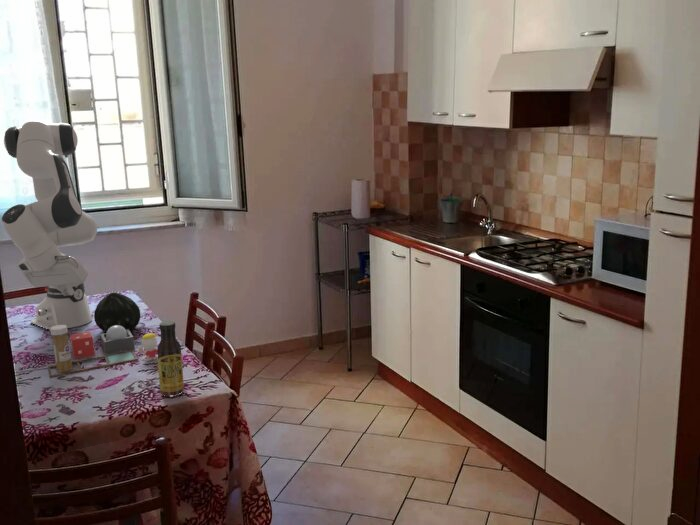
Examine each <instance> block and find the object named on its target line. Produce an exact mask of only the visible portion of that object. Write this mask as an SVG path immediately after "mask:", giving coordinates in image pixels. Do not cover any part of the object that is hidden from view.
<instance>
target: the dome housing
mask: <svg viewBox="0 0 700 525" xmlns="http://www.w3.org/2000/svg"><path fill="white" fill-rule="evenodd" d="M126 331H127V337H125V338H120V339H114V340H109V341H107V339H106V333H107V332H106V333H100V341H101V347H102V349H103V351H104V353H105V355H109V354H114V353H119V352H124V351H130V350H134V349H135V339H134V335H133V334H132V332H131V331H129V329H126Z"/></svg>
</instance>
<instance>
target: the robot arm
mask: <svg viewBox="0 0 700 525" xmlns="http://www.w3.org/2000/svg"><path fill="white" fill-rule="evenodd" d="M78 140H79V139H78V136H77V133H76V131H75V129H74V127H73V126H72V125H71V124H69V123H65V122H59V123H54V122H43V121H41V120H34V119H33V120H29V121H27V122H25V123H24V124H23V125H14V126H9V127H8V128H7V129H6V130H5V132H4V136H3V145H4V148H5V150H6V151H7V154H8V155H9V156H11V157H12V158H15V159H16V162H17V166H18V168H19V169H20V170H21V172H22V173H23V174H25V175H27V176H28V177H31V178H32V184H33V190H34V197H35V199H36V201H34V202H31V203H28V204H26V205H25V204H22V203H21V204H15V205H13V206H11V207H10V208H8V209H7V210H6V211H5V212H4V213H3V214H2V216H1V222H2V225H3V227H4V230H5V232H6V233H7V235H8V237H9V238H10V240H11V241H12V243H13V244H14V246H16V247H17V248H18V249H19V250H20V251H21V254H22V256H23V258H22V259H21V260H19V262H18V264H16V267H17V269H18V270H19V271H20V272H21V271H22V275H23V277H24V278H25V279H26V280H27V282H28V283H29V284H30V285H31V286H33V287H34V288H40V287H41V288H42V287H44V289H45V290H44V291H45V292H46V297H45V298H44V299H43V300H42V301H41V302H39V304H38V305H37V306H36V310H35V311H36V317H34V318H32V319H31V320H30V321H29V322H31V323H34V324H36V325H39V326H42V327H44V328H47V329H49V330H48V331H50V328H51V327H53V326H56V325H66V326H67V329H71V328H77V327H81V326H84V325H86V324H88V323H90V322H92V320H93V316H94V313H93V312H92V311H91V308H90V304H89V300H88V296H87V295H86V294H85V292H86V289H85V285H84V283H85V281H86V280H88V277H89V273H88V272H87V270H86V269H85V268H84V266H83V265H82V264H81V263H80V261H78V259H76V258H75V257H73V256H70V255H68V254H65V253H62V252H61V251H60V249H59V248H61V247H69V246H70V247H71V246H78V245H84V244H87V243H90V242H93V241H94V240H95V238H96V236H97V234H98V224H97V222H96V220H95V219H94V217H93V216H91V215H90V214H89V213H87V212H85V211H84V210H82V207H81V204H80V201H79V199H78V197H77V194H76V190H75V188H74V183H73V180H72V179H73V178H72V176H71V173H70V169H69V167H68V164H67V162H66V160H65V159H67V158H68V157H69V156H70V155H72V154H74V153H75V151H76V150H77V146H78ZM64 157H65V158H64ZM92 315H93V316H92ZM36 325H35V326H36ZM44 328H43V329H44ZM47 329H46V330H47Z"/></svg>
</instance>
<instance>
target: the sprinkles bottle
mask: <svg viewBox="0 0 700 525" xmlns="http://www.w3.org/2000/svg"><path fill="white" fill-rule="evenodd" d="M49 331H50V334H51V338H52V347H53V354H54V360H55V365H56V366H57V367H56V372H58V373H64V372H69V371H72V370H73V364H72V362H73V361H72V356H71V348H70V342H69V337H68V336H69V335H68V328H67V326H66V325H56V326H53V327H51V328H50V330H49Z"/></svg>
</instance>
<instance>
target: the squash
mask: <svg viewBox="0 0 700 525" xmlns="http://www.w3.org/2000/svg"><path fill="white" fill-rule="evenodd" d="M93 316H94V322H95V324H96V326H97V327H98V328H99V329H100V330H102V331H103V332H106V333H107V331H108V329H109V328H110V327H112V326H114V325H120V326H122V327H124V328H125V330H126V329H129V331H130V332H131V331H133V330H134V329H135V328H136V327H137V326H138V324H139V323H140V321H141V309H140V308H139V305H138V304H137V303H136V302H135V301H134V300H133V299H132V298H130V297H129V296H126V295H124V294H122V293H119V292H110V293H108V294H107V295H106V296H104V297H103V298H102V299H100V300H99V302H98V303H97V305H96V306H95V310H94V313H93Z"/></svg>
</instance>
